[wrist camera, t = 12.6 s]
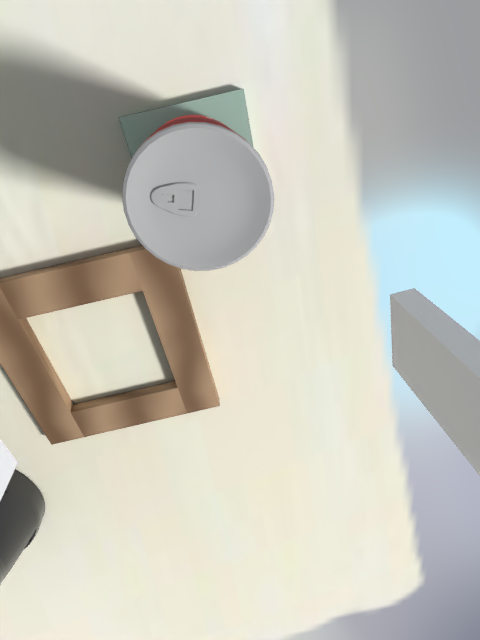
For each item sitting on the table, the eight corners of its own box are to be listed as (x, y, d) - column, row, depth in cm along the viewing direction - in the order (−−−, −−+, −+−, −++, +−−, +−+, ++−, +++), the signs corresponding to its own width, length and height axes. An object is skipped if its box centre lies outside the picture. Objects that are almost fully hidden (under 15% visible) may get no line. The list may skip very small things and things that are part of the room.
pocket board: (54, 436, 42) (51, 444, 41) (-37, 286, 33) (-45, 293, 32) (219, 398, 42) (219, 405, 41) (171, 238, 33) (170, 243, 32)
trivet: (157, 235, 33) (157, 238, 32) (120, 117, 29) (118, 117, 28) (263, 211, 33) (264, 213, 32) (242, 88, 29) (243, 88, 28)
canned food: (130, 124, 28) (99, 138, 19) (240, 104, 28) (266, 108, 19) (157, 228, 32) (144, 284, 22) (255, 210, 32) (282, 258, 23)
